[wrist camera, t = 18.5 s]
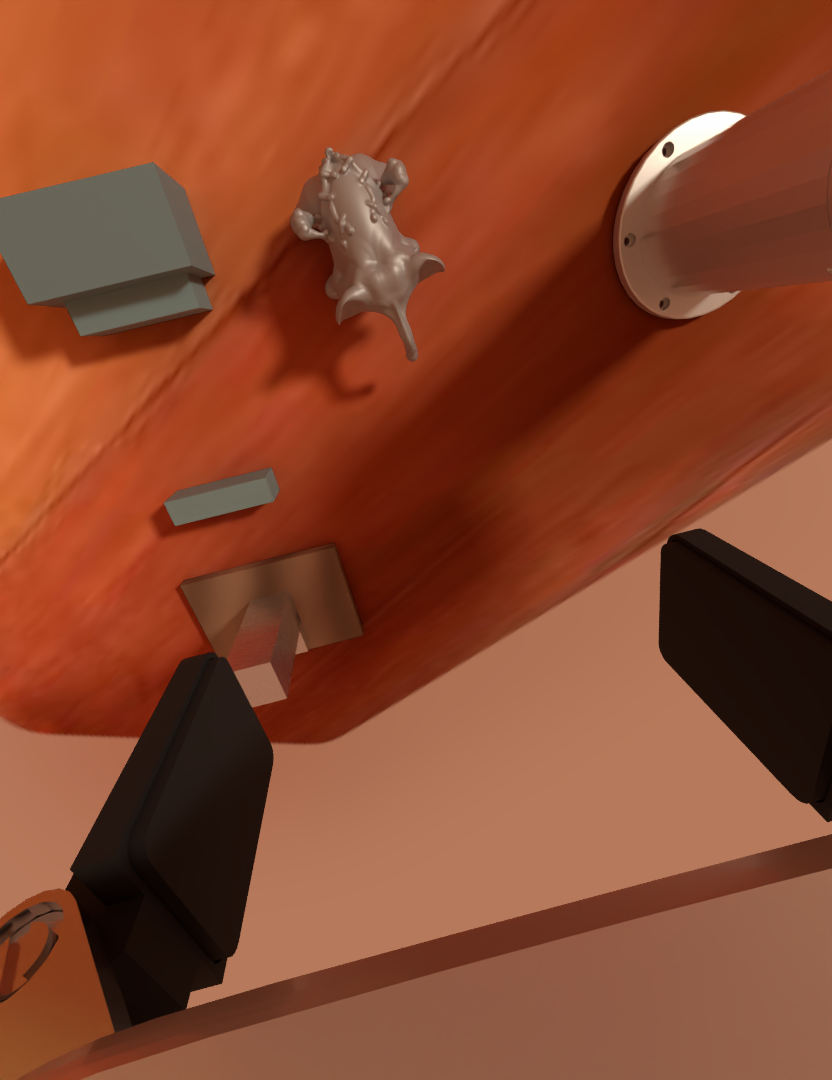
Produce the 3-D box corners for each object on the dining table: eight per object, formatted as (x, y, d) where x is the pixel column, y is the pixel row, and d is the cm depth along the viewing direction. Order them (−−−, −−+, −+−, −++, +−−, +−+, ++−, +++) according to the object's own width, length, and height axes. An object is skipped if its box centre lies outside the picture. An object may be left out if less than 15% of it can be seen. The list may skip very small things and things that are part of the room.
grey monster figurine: (363, 138, 30) (358, 73, 23) (480, 289, 34) (506, 272, 27) (272, 250, 32) (241, 221, 25) (392, 380, 36) (395, 387, 29)
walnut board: (334, 542, 41) (333, 547, 40) (363, 629, 45) (363, 635, 45) (184, 580, 41) (180, 585, 40) (227, 664, 45) (224, 670, 44)
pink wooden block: (288, 590, 41) (270, 662, 32) (309, 641, 44) (297, 720, 35) (250, 600, 41) (221, 674, 32) (273, 650, 44) (252, 732, 35)
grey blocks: (184, 188, 29) (153, 162, 25) (291, 486, 38) (282, 507, 34) (33, 224, 29) (-26, 204, 25) (176, 515, 38) (152, 539, 34)
